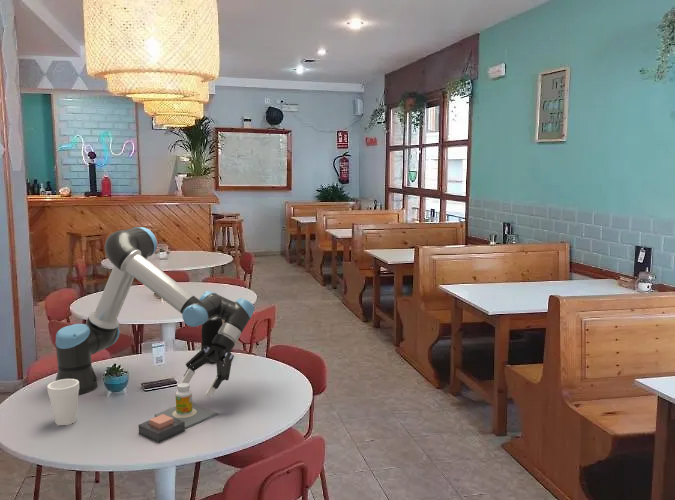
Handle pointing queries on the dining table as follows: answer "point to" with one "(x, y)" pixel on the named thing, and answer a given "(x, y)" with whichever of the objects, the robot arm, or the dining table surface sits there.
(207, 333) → the portable speaker
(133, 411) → the dining table surface
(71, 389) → the foam cup
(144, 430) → the button housing
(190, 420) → the slate board
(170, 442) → the dining table surface
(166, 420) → the button
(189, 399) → the supplement bottle
